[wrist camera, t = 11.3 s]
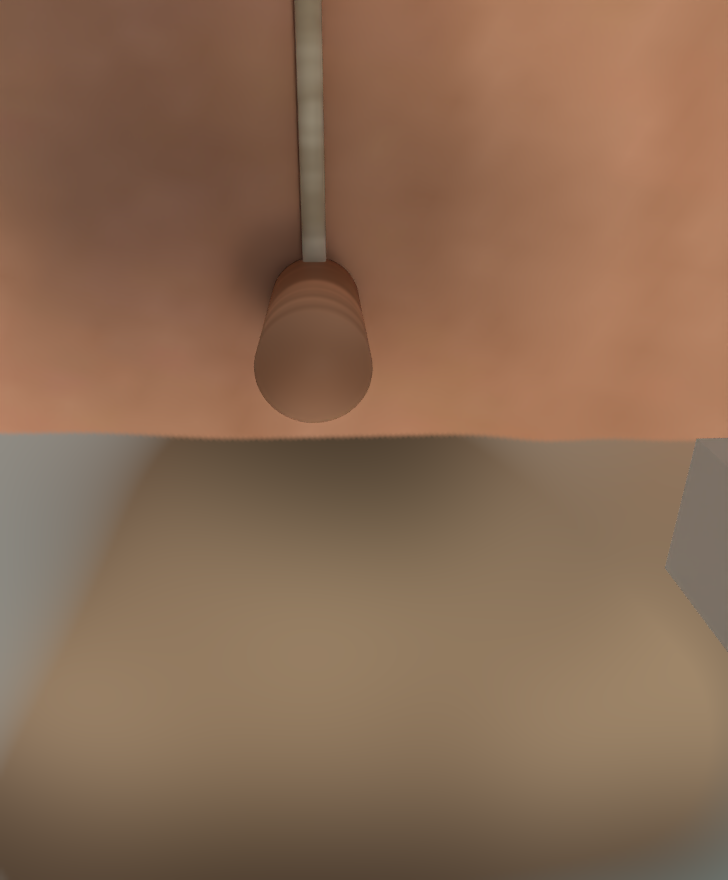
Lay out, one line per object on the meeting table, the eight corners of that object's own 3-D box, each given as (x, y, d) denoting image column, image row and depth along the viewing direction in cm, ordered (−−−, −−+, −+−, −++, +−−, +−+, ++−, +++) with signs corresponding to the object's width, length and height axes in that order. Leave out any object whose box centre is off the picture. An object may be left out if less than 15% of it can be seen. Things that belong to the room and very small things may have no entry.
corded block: (191, -362, 19) (111, -656, 12) (404, -353, 19) (455, -632, 12) (243, 344, 28) (216, 424, 21) (388, 342, 28) (412, 421, 21)
